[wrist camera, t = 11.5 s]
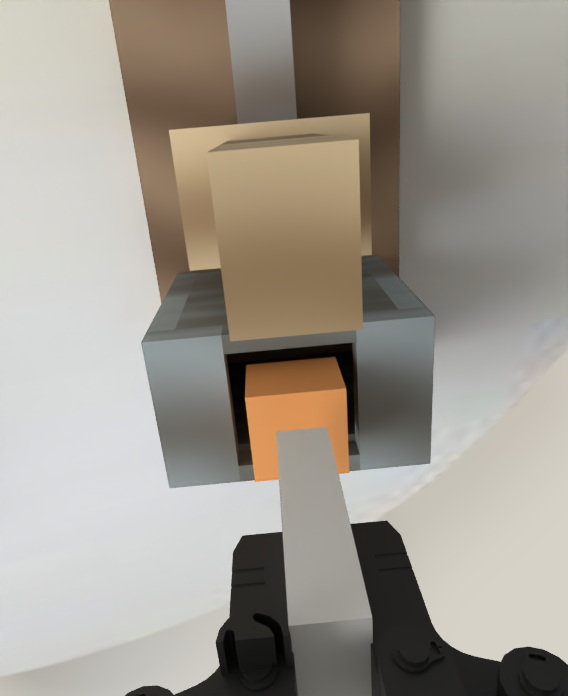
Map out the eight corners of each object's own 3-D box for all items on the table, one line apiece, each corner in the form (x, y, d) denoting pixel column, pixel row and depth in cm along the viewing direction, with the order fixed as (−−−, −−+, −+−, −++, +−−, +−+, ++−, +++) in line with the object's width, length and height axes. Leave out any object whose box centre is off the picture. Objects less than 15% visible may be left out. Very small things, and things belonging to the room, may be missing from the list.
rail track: (73, -254, 20) (-117, -648, 10) (391, -278, 20) (530, -688, 10) (179, 373, 30) (140, 500, 20) (391, 353, 30) (461, 470, 20)
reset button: (246, 365, 19) (245, 397, 17) (335, 356, 19) (346, 388, 17) (255, 441, 20) (255, 481, 18) (338, 433, 20) (349, 472, 18)
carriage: (186, 129, 23) (98, 133, 10) (346, 115, 23) (460, 103, 10) (202, 243, 25) (144, 369, 12) (350, 230, 25) (450, 341, 12)
